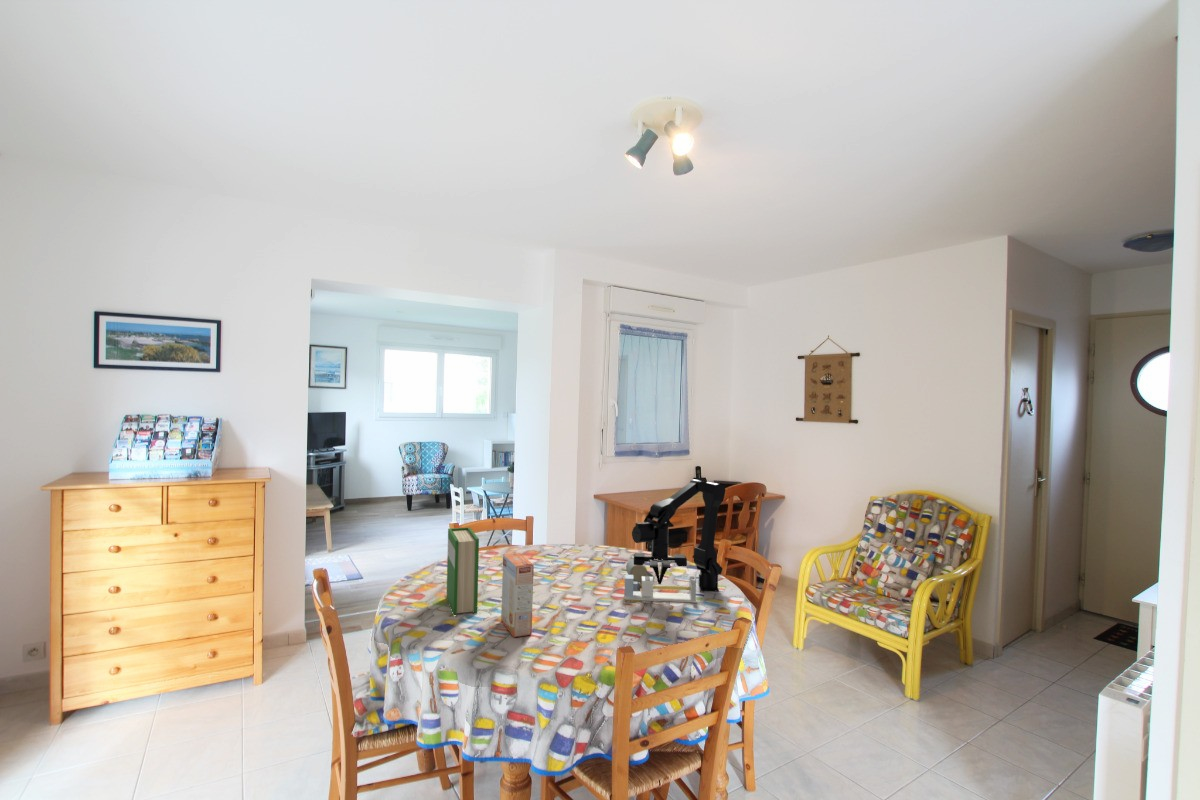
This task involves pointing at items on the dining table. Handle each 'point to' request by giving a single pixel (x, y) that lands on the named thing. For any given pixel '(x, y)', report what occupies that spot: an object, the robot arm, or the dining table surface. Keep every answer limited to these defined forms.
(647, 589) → the marker sleeve
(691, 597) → the cord rig
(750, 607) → the dining table surface
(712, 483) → the robot arm
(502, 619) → the cracker box
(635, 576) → the ceramic mug
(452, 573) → the hardback book
